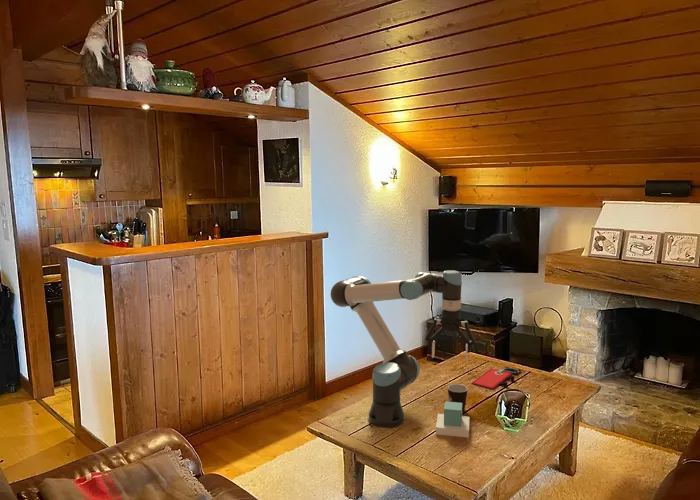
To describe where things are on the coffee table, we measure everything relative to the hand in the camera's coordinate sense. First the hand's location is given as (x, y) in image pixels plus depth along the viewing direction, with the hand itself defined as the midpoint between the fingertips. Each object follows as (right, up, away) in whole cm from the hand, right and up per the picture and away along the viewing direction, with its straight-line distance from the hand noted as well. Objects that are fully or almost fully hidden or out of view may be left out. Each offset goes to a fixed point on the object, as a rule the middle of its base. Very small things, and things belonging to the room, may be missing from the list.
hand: (449, 358), depth 225 cm
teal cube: (+1, -26, -2) cm, 26 cm away
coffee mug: (+6, -26, +17) cm, 31 cm away
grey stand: (+1, -29, -2) cm, 29 cm away
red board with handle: (+34, -20, +49) cm, 63 cm away
